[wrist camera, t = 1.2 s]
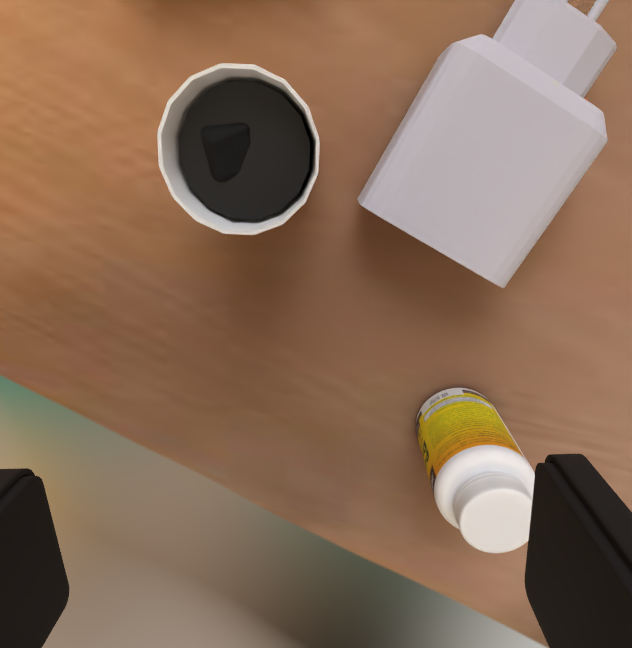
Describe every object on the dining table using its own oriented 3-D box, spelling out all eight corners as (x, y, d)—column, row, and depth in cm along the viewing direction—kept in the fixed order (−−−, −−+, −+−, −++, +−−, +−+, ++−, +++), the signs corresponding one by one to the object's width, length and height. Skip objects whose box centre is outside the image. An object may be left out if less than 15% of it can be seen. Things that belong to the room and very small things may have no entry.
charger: (646, 35, 28) (483, 273, 32) (504, -62, 27) (356, 198, 31) (706, 13, 23) (507, 293, 28) (539, -105, 22) (359, 206, 27)
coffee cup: (225, 217, 32) (178, 246, 22) (200, 101, 30) (137, 78, 20) (332, 200, 31) (331, 223, 22) (315, 81, 29) (306, 47, 20)
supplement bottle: (399, 407, 35) (424, 503, 26) (474, 370, 34) (529, 456, 25) (435, 468, 37) (471, 581, 27) (508, 434, 36) (573, 540, 26)
